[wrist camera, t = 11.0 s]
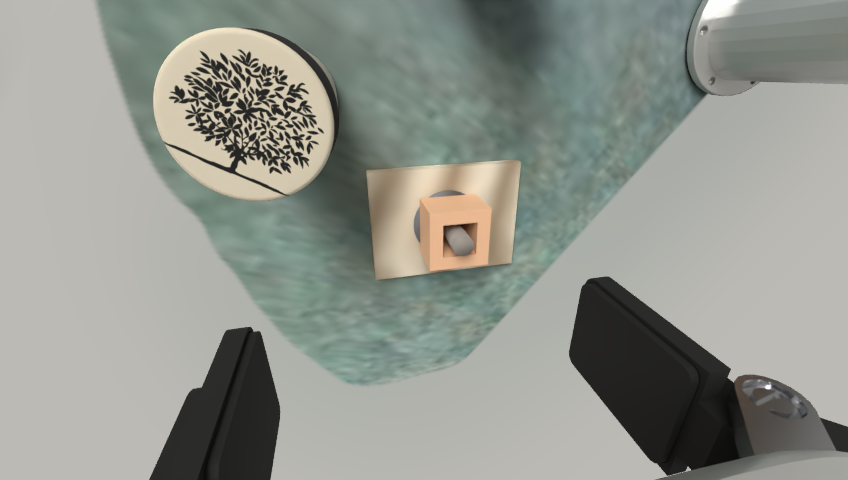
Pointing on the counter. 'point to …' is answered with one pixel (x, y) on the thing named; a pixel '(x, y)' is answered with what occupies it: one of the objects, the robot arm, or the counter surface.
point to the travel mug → (246, 112)
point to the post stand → (400, 226)
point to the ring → (454, 212)
